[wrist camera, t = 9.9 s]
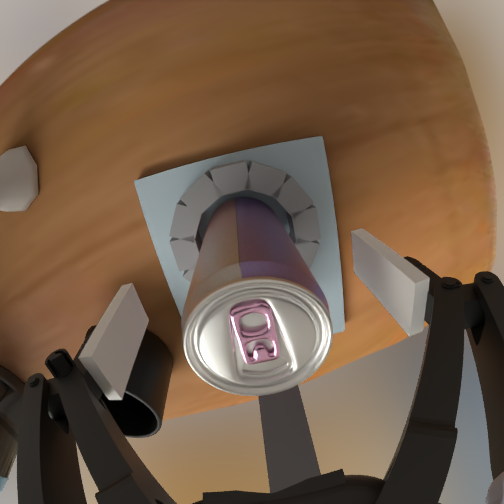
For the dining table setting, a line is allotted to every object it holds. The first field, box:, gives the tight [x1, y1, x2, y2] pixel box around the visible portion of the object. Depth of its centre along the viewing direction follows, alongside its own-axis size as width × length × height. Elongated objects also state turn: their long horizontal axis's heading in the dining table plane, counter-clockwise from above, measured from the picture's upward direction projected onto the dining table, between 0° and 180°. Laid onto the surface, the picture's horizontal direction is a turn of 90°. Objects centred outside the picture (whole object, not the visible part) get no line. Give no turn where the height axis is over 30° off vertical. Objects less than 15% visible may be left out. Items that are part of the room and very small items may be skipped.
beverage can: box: [181, 197, 333, 396], centre depth 17 cm, size 6×6×15 cm
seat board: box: [134, 136, 345, 493], centre depth 17 cm, size 16×20×20 cm
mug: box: [85, 325, 173, 438], centre depth 25 cm, size 9×12×9 cm
